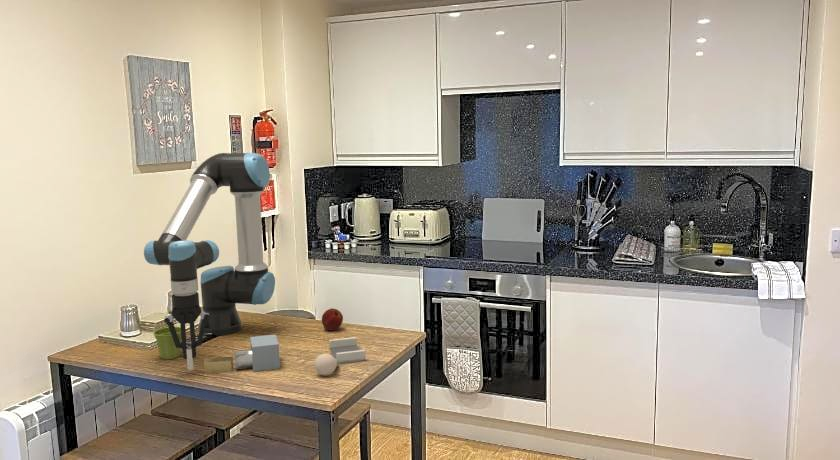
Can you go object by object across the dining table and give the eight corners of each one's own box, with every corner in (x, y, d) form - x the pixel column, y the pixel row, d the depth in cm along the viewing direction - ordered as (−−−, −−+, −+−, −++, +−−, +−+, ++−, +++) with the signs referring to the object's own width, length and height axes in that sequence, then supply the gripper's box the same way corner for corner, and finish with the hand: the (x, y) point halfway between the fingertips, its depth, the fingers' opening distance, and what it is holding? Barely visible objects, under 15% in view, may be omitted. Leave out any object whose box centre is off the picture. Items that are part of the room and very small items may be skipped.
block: (251, 360, 208) (250, 337, 207) (276, 357, 211) (275, 334, 209) (253, 371, 199) (251, 347, 198) (280, 368, 201) (278, 344, 200)
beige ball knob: (329, 349, 204) (313, 351, 193) (348, 355, 202) (333, 357, 191) (324, 369, 204) (307, 372, 193) (342, 376, 201) (327, 379, 191)
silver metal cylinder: (236, 372, 199) (235, 355, 198) (235, 364, 205) (234, 347, 203) (276, 367, 203) (275, 351, 201) (274, 359, 208) (273, 343, 207)
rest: (329, 349, 218) (329, 339, 217) (356, 346, 220) (355, 337, 220) (337, 363, 204) (337, 354, 204) (365, 360, 207) (365, 350, 206)
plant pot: (156, 353, 216) (154, 328, 215) (186, 350, 219) (184, 325, 217) (153, 362, 207) (151, 336, 206) (185, 359, 210) (183, 333, 209)
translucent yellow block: (206, 369, 202) (205, 358, 201) (233, 367, 203) (232, 356, 202) (204, 373, 198) (203, 362, 198) (231, 371, 199) (230, 360, 199)
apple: (330, 334, 233) (330, 312, 232) (317, 329, 239) (316, 308, 237) (346, 329, 239) (346, 308, 237) (333, 325, 244) (332, 304, 243)
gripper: (160, 298, 189) (166, 375, 192) (207, 294, 192) (213, 370, 196) (162, 291, 196) (168, 366, 200) (208, 288, 200) (213, 361, 203)
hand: (190, 368), depth 198 cm, fingers closed
